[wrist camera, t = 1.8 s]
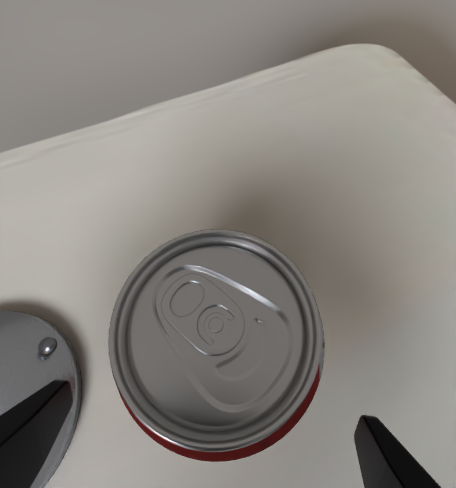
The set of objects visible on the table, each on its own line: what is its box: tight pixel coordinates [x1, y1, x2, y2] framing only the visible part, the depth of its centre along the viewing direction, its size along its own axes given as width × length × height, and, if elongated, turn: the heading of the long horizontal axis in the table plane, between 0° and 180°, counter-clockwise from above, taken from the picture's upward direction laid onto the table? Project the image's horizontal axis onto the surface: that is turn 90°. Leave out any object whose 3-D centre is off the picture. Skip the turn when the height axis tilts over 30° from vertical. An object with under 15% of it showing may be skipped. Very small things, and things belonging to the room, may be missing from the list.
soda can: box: [109, 229, 324, 462], centre depth 12 cm, size 7×7×12 cm
